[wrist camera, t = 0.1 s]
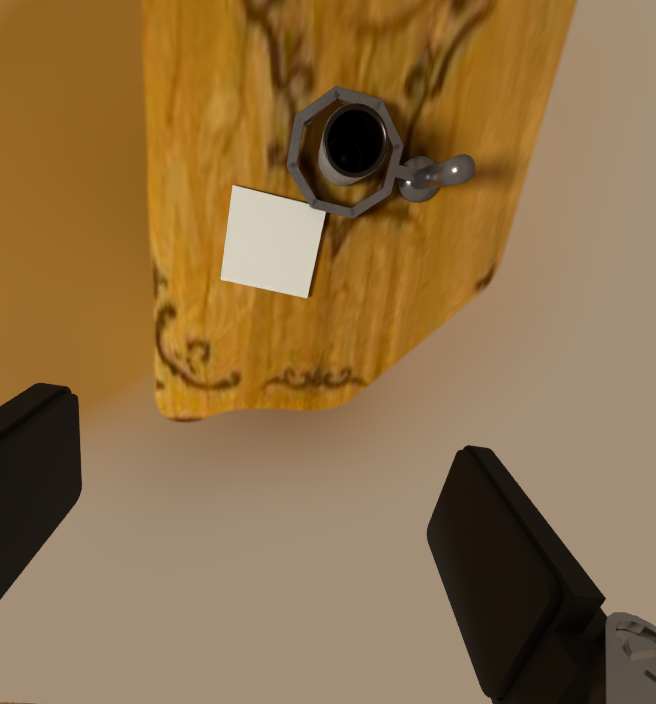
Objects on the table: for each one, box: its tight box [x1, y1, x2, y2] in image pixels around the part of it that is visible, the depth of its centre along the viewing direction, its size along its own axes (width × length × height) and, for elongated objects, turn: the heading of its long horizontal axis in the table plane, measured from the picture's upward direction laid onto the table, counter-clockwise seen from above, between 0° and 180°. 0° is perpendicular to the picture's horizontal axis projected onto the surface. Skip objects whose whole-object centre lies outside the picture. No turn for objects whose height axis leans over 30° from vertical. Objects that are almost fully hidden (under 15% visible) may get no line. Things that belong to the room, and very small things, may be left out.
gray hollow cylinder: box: [318, 103, 388, 186], centre depth 30 cm, size 4×4×10 cm
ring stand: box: [287, 86, 475, 218], centre depth 30 cm, size 10×14×11 cm
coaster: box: [221, 185, 326, 298], centre depth 37 cm, size 9×9×1 cm
